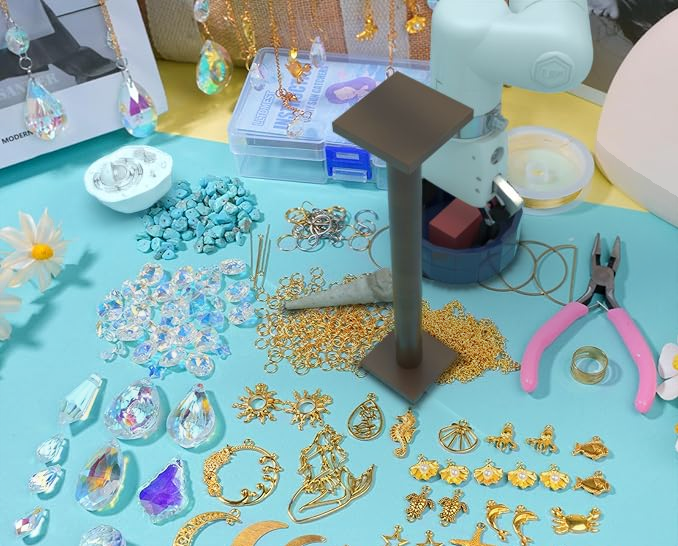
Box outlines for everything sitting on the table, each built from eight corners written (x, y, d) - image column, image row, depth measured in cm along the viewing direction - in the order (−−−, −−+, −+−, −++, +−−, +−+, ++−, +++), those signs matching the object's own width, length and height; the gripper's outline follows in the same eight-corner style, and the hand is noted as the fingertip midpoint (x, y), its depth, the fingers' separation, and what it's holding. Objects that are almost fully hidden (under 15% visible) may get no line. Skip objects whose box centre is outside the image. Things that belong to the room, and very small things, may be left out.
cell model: (186, 213, 111) (173, 177, 106) (98, 234, 111) (80, 198, 105) (177, 163, 117) (164, 126, 112) (93, 182, 116) (76, 145, 111)
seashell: (417, 302, 100) (416, 286, 96) (290, 328, 100) (283, 313, 96) (410, 272, 102) (408, 254, 98) (285, 298, 102) (278, 281, 98)
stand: (405, 322, 98) (396, 70, 69) (458, 358, 95) (474, 109, 65) (360, 366, 95) (331, 122, 66) (413, 405, 92) (408, 165, 62)
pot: (449, 182, 111) (450, 148, 106) (540, 233, 104) (546, 200, 99) (377, 247, 105) (374, 215, 100) (469, 306, 99) (471, 274, 94)
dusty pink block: (463, 214, 106) (464, 189, 103) (488, 229, 105) (490, 204, 101) (428, 247, 104) (428, 222, 100) (454, 262, 102) (455, 238, 98)
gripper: (553, 124, 85) (532, 235, 99) (423, 58, 92) (421, 170, 107) (509, 164, 82) (494, 272, 96) (379, 93, 90) (382, 203, 104)
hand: (455, 219), depth 101 cm, fingers open, 9 cm apart
